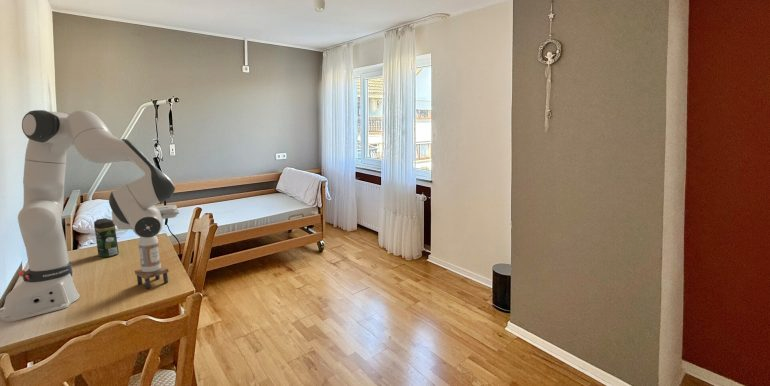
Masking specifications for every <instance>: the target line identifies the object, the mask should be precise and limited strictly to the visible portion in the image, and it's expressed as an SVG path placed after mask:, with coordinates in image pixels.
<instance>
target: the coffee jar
mask: <svg viewBox="0 0 770 386" xmlns="http://www.w3.org/2000/svg"><path fill="white" fill-rule="evenodd" d="M93 228H94V233H95V241H96V247H97V253H98V257H99V256H100V257H102V258H110V257H115V256H117V255H119V253H120V252H119V244H118V240H117V239H118V238H117V231H116V225H114V223H113V220H112V219H109V218H106V217H105V218H99V219H96V220H95V221H94V222H93Z"/></svg>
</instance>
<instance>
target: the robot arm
mask: <svg viewBox="0 0 770 386" xmlns="http://www.w3.org/2000/svg"><path fill="white" fill-rule="evenodd" d="M21 130H22V132H23V134H24V135H25V137H26V138H27V139H28V141H27V145H26V148H25V149H26V150H25V154H24V156H25V157H24V166H23V178H22V179H23V180H22V186H23V206H22V208H21V210H20V211H19V212H18V215H17V222H18V223H17V224H18V225H19V227H18V228H19V230H20V233H21V235H20V236H21V238H22V240H23V243H24V247H25V250H26V257H27V262H28V269H27V270H26V271H25V270H23V269H20V270H19V271H18V272H17V274H18V276H19V277H22V280H23V281H22V282H21V283H20V284H18V285H17V286H15V288H13V289H12V290H11V291H9V293H8V294H7V295H6V297H5V301H4V307H1V308H0V321H2V322H8V323H9V322H11V323H13V322H15V321H20V320H24V319H27V318H32V317H35V316H39V315H40V316H41V315H44V314H47V313H52V312H55V311H58V310H63V309H66V308H68V307H69V306H70V305H71V304H73V303H74V302H76V301H77V300H79V298H80V297H81V295H80V294H79V292H78V290H77V288H76V286H75V282H74V280H73V267H72V263H71V262H70V259H69V252H68V246H67V241H66V238H65V233H64V229H63V228H64V227H63V224H62V223H63V222H62V216H63V212H64V201H65V198H64V197H65V181H66V169H67V153H68V149H69V148H70V147H72V146H74V147H75V149H76V151H77V152H78V154H79V155H80V156H81V157H82V158H83V159H85V160H87V161H88V162H91V163H93V164H94V163H95V164H112V163H118V162H132V163H134V164H135V165H136V166H137V167H138V168H139V169H140V170H141V171H142V172H143V173H144V175H143V176H142V177H140V178H137V179H136V180H134V181H132V182H129V183H127V184H125V185H122V186H120V187H118V188H116V189H114V190H111V192H110V194H109V198H108V202H109V207H110V209H111V218H112V219H111V220H113V223H114V225H115V227H116V228H117V230H132V231H133V233H134V234H135V235H137V236H138V237H139V238H140V237H142V238H151V237H154V236H156V237H157V235H158V234H159V233H160V232H161V231H162V229H163V226H164V221H163V220H165V219H174V218H176V217H178V215H179V214H180V211H179V209H178V206H177V205H176V204H167V205H158V204H160V203H163V202H165V201H168V200H171V199H172V198H173V196H174V193H175V190H176V187H175V184H174V182H173V181H172V179H171V178H170V177H169V176H168V175H167V174H166V173H164V172H163V171H161V170H160V169H159V168H158V167H157V166H156V165H155V164H154V163H153V162H152V161H151V160H150V159H149V158H148V157H147V156H146V155H145V153H143V151H141V150H140V149H139V148H138V147H137V146H136V145H135V144H133V142H131V141H130V140H129V139H126V138H119V137H116V136H115V135H113V134H112V132H111V130H110V129H109V128H108V126H107V125H106V124H105V123H104V121H103V120H102V119H101V118H100V117H99V116H98V115H96V113H94V112H93V111H90V110H86V109H79V110H75V111H72V112H60V111H48V110H46V109H44V110H43V109H42V110H41V109H38V110H37V109H36V110H30V111H28V112H26V114H25V115H24V116H23V117H22V121H21ZM157 205H158V206H157Z"/></svg>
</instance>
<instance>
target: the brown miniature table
mask: <svg viewBox="0 0 770 386" xmlns="http://www.w3.org/2000/svg"><path fill="white" fill-rule="evenodd" d="M168 273H169V268H167V267H165V266H163V265H161V268H160V269H159V270H158V271H155V272H149V273H145V272H142V270H141V268H139V269H137V270H134V274H135V275H136V279H137V280H136V282H137V285H138V286H141V285H143V279H144V284H145V289H146V290H150V289H151V282H150V281H151V280H150V278H154V279H155V280H160V279H161V275H162V277H163V284H168V283H169V277H168Z"/></svg>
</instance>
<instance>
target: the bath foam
mask: <svg viewBox="0 0 770 386" xmlns="http://www.w3.org/2000/svg"><path fill="white" fill-rule="evenodd" d="M159 243H160V242H159V239H158V237H157V235H156V236H154V237H151V238H142V237H139V239H138V251H139V252H138V253H139V262H140V267H141V268H140V269H141V270H142V272H145V273H149V272H155V271H158V270H159V269H160V268H161V266H162V264H161V255H160V254H161V253H160V245H159Z"/></svg>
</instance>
